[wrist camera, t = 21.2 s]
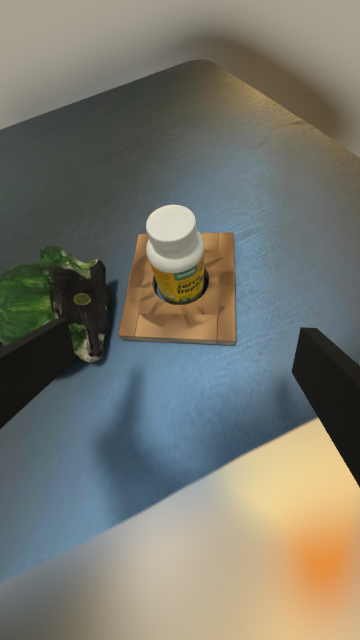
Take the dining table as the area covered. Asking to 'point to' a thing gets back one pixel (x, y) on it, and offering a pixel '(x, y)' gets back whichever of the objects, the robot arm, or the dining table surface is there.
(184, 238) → the supplement bottle
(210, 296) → the socket pad
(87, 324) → the figurine
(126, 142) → the dining table surface
